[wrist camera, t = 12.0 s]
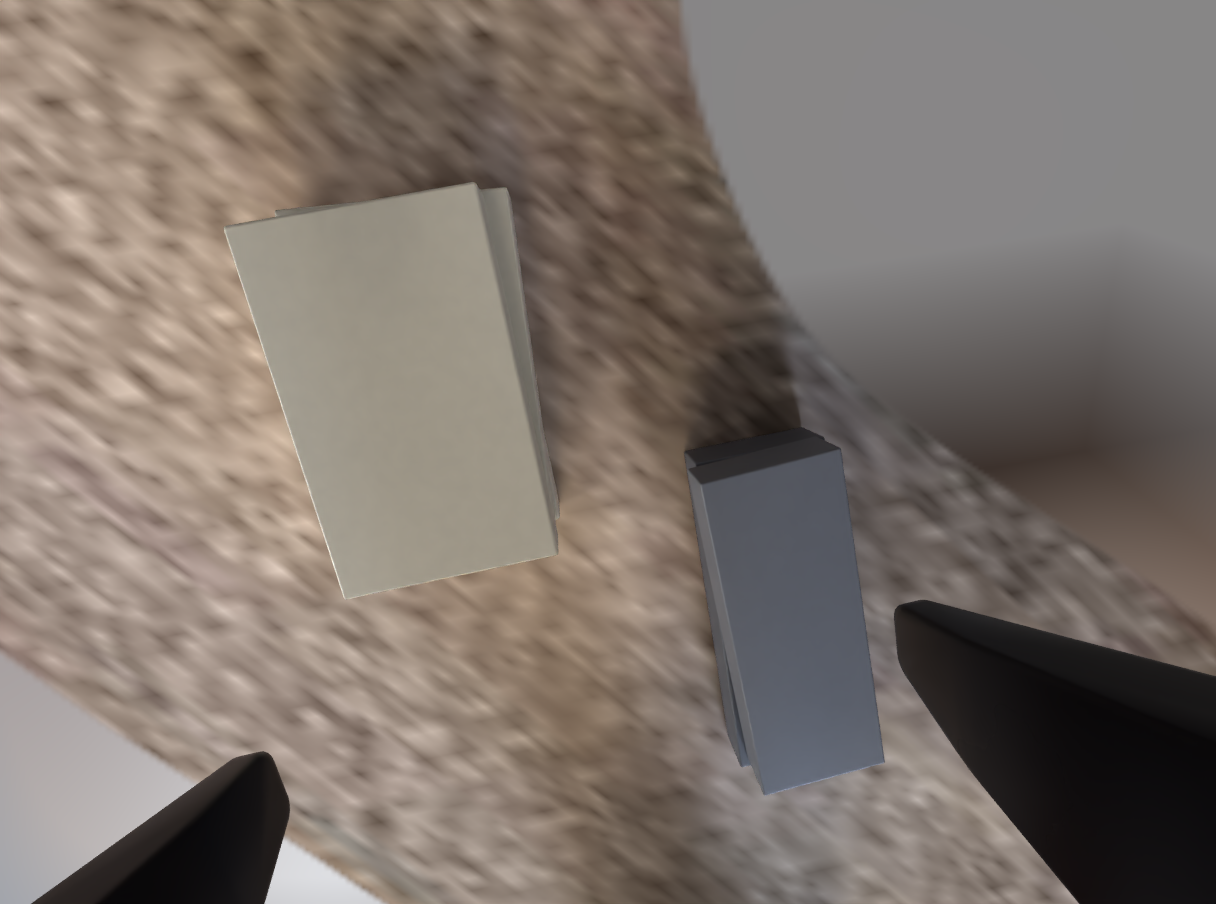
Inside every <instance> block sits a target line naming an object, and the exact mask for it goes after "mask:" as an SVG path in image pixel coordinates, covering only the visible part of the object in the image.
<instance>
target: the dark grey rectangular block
mask: <svg viewBox="0 0 1216 904" xmlns="http://www.w3.org/2000/svg"><path fill="white" fill-rule="evenodd" d="M684 455H685V461H686V468H687V474H688V481H689V487H690V494H691V500H692V507H693V513H694V520H695V526H696V532H697V539H698V545H699V552H700V558H701V565H702V571H703V578H704V584H705V591H706V597H707V604H708V610H709V617H710V623H711V629H712V636H713V642H714V649H715V655H716V662H717V668H718V675H719V681H720V688H721V694H722V701H723V707H724V713H725V720H726V726H727V733H728V737H729V739H730V742H731V744H732V747H733V749H734V751H735V754H736V756H737V759H738V761H739V763H740V766H741V767H745V766H749V765H751V767H752V769H753V771H754V773H755V776H756V778H757V780H758V783H759V785H760V787H761V789H762V792H763V794H764V795H769V794H773V793H777V792H780V791H784V790H787V789H791V788H795V787H798V786H802V785H806V784H809V783H813V782H816V781H820V780H824V779H827V778H831V777H835V776H838V775H842V774H845V773H849V772H853V771H856V770H860V769H864V768H867V767H871V766H874V765H878V764H882V763H884V762H885V761H884V754H883V746H882V739H881V732H880V725H879V718H878V711H877V704H876V697H875V690H874V682H873V675H872V668H871V661H870V654H869V647H868V640H867V633H866V625H865V618H864V611H863V604H862V597H861V590H860V583H859V576H858V568H857V561H856V554H855V547H854V540H853V533H852V526H851V519H850V511H849V504H848V497H847V490H846V483H845V476H844V469H843V462H842V455H841V449H840V448H839V447H837V446H835V445H833V444H831V443H829V442H827V441H825V439H824V437H822V436H820V435H818V434H816V433H814V432H811V431H809V430H807V429H805V428H797V429H792V430H787V431H782V432H777V433H772V434H767V435H762V436H757V437H752V438H747V439H742V440H737V441H732V442H727V443H722V444H717V445H712V446H708V447H703V448H698V449H693V450H688V451H685V452H684Z"/></svg>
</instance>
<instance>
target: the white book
mask: <svg viewBox="0 0 1216 904" xmlns="http://www.w3.org/2000/svg"><path fill="white" fill-rule="evenodd" d="M224 232H225V235H226V238H227V241H228V244H229V247H230V250H231V253H232V256H233V259H234V262H235V265H236V268H237V271H238V275H239V278H240V281H241V284H242V287H243V290H244V293H245V296H246V299H247V302H248V305H249V308H250V311H251V314H252V317H253V321H254V324H255V327H256V330H257V333H258V336H259V339H260V342H261V345H262V348H263V351H264V354H265V357H266V360H267V363H268V367H269V370H270V373H271V376H272V379H273V382H274V385H275V388H276V391H277V394H278V397H279V400H280V403H281V406H282V409H283V413H284V416H285V419H286V422H287V425H288V428H289V431H290V434H291V437H292V440H293V443H294V446H295V449H296V452H297V455H298V459H299V462H300V465H301V468H302V471H303V474H304V477H305V480H306V483H307V486H308V489H309V492H310V495H311V498H312V501H313V505H314V508H315V511H316V514H317V517H318V520H319V523H320V526H321V529H322V532H323V535H324V538H325V541H326V544H327V548H328V551H329V554H330V557H331V560H332V563H333V566H334V569H335V572H336V575H337V578H338V581H339V584H340V587H341V590H342V594H343V597H344V598H345V599H350V598H355V597H360V596H364V595H369V594H374V593H379V592H384V591H388V590H393V589H398V588H403V587H407V586H412V585H417V584H422V583H427V582H431V581H436V580H441V579H446V578H450V577H455V576H460V575H465V574H470V573H474V572H479V571H484V570H489V569H493V568H498V567H503V566H508V565H512V564H517V563H522V562H527V561H532V560H536V559H541V558H546V557H551V556H555V555H557V554H558V533H557V528H556V524H555V519H554V515H553V510H552V506H551V501H550V497H549V492H548V487H547V483H546V478H545V474H544V469H543V465H542V460H541V456H540V451H539V446H538V442H537V437H536V433H535V428H534V424H533V419H532V415H531V410H530V405H529V401H528V396H527V392H526V387H525V383H524V378H523V374H522V369H521V365H520V360H519V355H518V351H517V346H516V342H515V337H514V333H513V328H512V324H511V319H510V314H509V310H508V305H507V301H506V296H505V292H504V287H503V283H502V278H501V273H500V269H499V264H498V260H497V255H496V251H495V246H494V242H493V237H492V232H491V228H490V223H489V219H488V214H487V210H486V205H485V201H484V196H483V194H482V193H481V191H480V189H479V187H478V186H477V184H476V183H475V182H469V183H464V184H458V185H452V186H447V187H441V188H436V189H430V190H424V191H419V192H413V193H408V194H402V195H396V196H391V197H385V198H380V199H374V200H368V201H363V202H357V203H352V204H346V205H340V206H335V207H329V208H323V209H318V210H312V211H307V212H301V213H295V214H290V215H284V216H279V217H273V218H267V219H262V220H256V221H251V222H245V223H239V224H234V225H228V226H225V227H224Z"/></svg>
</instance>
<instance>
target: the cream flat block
mask: <svg viewBox="0 0 1216 904" xmlns="http://www.w3.org/2000/svg"><path fill="white" fill-rule="evenodd" d="M480 191H481V193H482V194H483V196H484V201H485V205H486V210H487V214H488V219H489V223H490V228H491V232H492V237H493V242H494V246H495V251H496V255H497V260H498V264H499V269H500V273H501V278H502V283H503V287H504V292H505V296H506V301H507V305H508V310H509V314H510V319H511V324H512V328H513V333H514V337H515V342H516V346H517V351H518V355H519V360H520V365H521V369H522V374H523V378H524V383H525V387H526V392H527V396H528V401H529V405H530V410H531V415H532V419H533V424H534V428H535V433H536V437H537V442H538V446H539V451H540V456H541V460H542V465H543V469H544V474H545V478H546V483H547V487H548V492H549V497H550V501H551V506H552V510H553V515H554V519H555V524H556V519H559V517H560V508H559V499H558V495H557V490H556V485H555V481H554V476H553V471H552V467H551V462H550V457H549V453H548V448H547V443H546V439H545V434H544V429H543V423H542V416H541V409H540V402H539V395H538V388H537V381H536V374H535V366H534V359H533V352H532V345H531V338H530V331H529V324H528V317H527V309H526V302H525V295H524V288H523V281H522V274H521V267H520V260H519V253H518V245H517V238H516V231H515V224H514V217H513V210H512V203H511V198H510V195H509V192H508V190H507V188H505V187H501V188H491V189H481V190H480ZM362 202H363V201H362ZM352 203H357V202H352ZM352 203H342V204H332V205H322V206H312V207H302V208H292V209H282V210H276V211H275V216H276V217H279V216H284V215H290V214H295V213H301V212H307V211H312V210H318V209H323V208H329V207H335V206H340V205H346V204H352Z"/></svg>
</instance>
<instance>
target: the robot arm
mask: <svg viewBox="0 0 1216 904" xmlns="http://www.w3.org/2000/svg"><path fill="white" fill-rule="evenodd" d="M894 621H895V632H896V644H897V654H898V660H899V663H900V666H901V668H902V670H903V672H904V674H905V676H906V677H907V679H908V680H909V682H910V683H911V684H912V686H913V687H914V689H915V690H916V692H917V693H918V695H919V696H920V698H921V699H922V701H923V702H924V704H925V705H926V707H927V708H928V710H929V711H930V713H931V714H932V716H933V717H934V719H935V720H936V722H937V723H938V725H939V726H940V728H941V729H942V731H943V732H944V734H945V735H946V737H947V738H948V740H949V741H950V742H951V744H952V745H953V747H954V748H955V750H956V751H957V753H958V754H959V756H960V757H961V758H962V760H963V761H964V763H965V764H966V765H967V767H968V768H969V770H970V771H971V772H972V773H973V775H974V776H975V777H976V778H977V780H978V781H979V782H980V784H981V785H982V786H983V787H984V788H985V790H986V791H987V792H988V793H989V795H990V796H991V797H992V798H993V799H994V801H995V802H996V803H997V804H998V806H999V807H1000V808H1001V809H1002V810H1003V812H1004V813H1005V814H1006V815H1007V816H1008V818H1009V819H1010V820H1011V821H1012V823H1013V824H1014V825H1015V826H1016V827H1017V829H1018V830H1019V831H1020V832H1021V833H1022V835H1023V836H1024V837H1025V838H1026V840H1027V841H1028V842H1029V843H1030V844H1031V846H1032V847H1033V848H1034V849H1035V850H1036V852H1037V853H1038V854H1039V855H1040V857H1041V858H1042V859H1043V860H1044V861H1045V863H1046V864H1047V865H1048V866H1049V868H1050V869H1051V870H1052V871H1053V872H1054V874H1055V875H1056V876H1057V877H1058V878H1059V880H1060V881H1061V882H1062V883H1063V885H1064V886H1065V887H1066V888H1067V889H1068V891H1069V892H1070V893H1071V894H1072V895H1073V897H1074V898H1075V899H1076V900H1077V902H1078V903H1079V904H1216V676H1212V675H1208V674H1205V673H1201V672H1197V671H1193V670H1190V669H1186V668H1182V667H1178V666H1174V665H1171V664H1167V663H1163V662H1159V661H1155V660H1152V659H1148V658H1144V657H1140V656H1136V655H1133V654H1129V653H1125V652H1121V651H1117V650H1114V649H1110V648H1106V647H1102V646H1099V645H1095V644H1091V643H1087V642H1083V641H1080V640H1076V639H1072V638H1068V637H1064V636H1061V635H1057V634H1053V633H1049V632H1046V631H1042V630H1038V629H1034V628H1030V627H1027V626H1023V625H1019V624H1015V623H1011V622H1008V621H1004V620H1000V619H996V618H993V617H989V616H985V615H981V614H977V613H974V612H970V611H966V610H962V609H958V608H955V607H951V606H947V605H943V604H940V603H936V602H932V601H928V600H918V601H914V602H910V603H905V604H901V605H899V606H898V607H897V608H896V609H895V613H894ZM289 813H290V804H289V798H288V795H287V793H286V790H285V787H284V785H283V782H282V780H281V777H280V775H279V772H278V770H277V767H276V765H275V762H274V760H273V758H272V756H271V755H270V754H269V753H267V752H264V751H263V752H257V753H252V754H248V755H244V756H239V757H236V758H234V759H232V760H230V761H229V762H228V763H226V764H225V765H223V766H222V767H221V768H219V769H218V770H216V771H215V772H214V773H212V774H211V775H210V776H208V777H207V778H205V779H204V780H203V781H201V782H200V783H198V784H197V785H196V786H194V787H193V788H191V789H190V790H189V791H187V792H186V793H184V794H183V795H182V796H180V797H179V798H178V799H176V800H175V801H173V802H172V803H171V804H169V805H168V806H166V807H165V808H164V809H162V810H161V811H159V812H158V813H157V814H155V815H154V816H152V817H151V818H150V819H148V820H147V821H146V822H144V823H143V824H141V825H140V826H139V827H137V828H136V829H134V830H133V831H132V832H130V833H129V834H127V835H126V836H125V837H123V838H122V839H120V840H119V841H118V842H116V843H115V844H114V845H112V846H111V847H109V848H108V849H107V850H105V851H104V852H102V853H101V854H100V855H98V856H97V857H95V858H94V859H93V860H91V861H90V862H89V863H87V864H86V865H84V866H83V867H82V868H80V869H79V870H77V871H76V872H75V873H73V874H72V875H70V876H69V877H68V878H66V879H65V880H63V881H62V882H61V883H59V884H58V885H56V886H55V887H54V888H52V889H51V890H50V891H48V892H47V893H46V894H44V895H43V896H41V897H40V898H38V899H37V900H36V901H34V902H33V903H32V904H264V903H265V900H266V896H267V893H268V889H269V886H270V882H271V879H272V875H273V872H274V869H275V865H276V862H277V858H278V854H279V851H280V848H281V844H282V841H283V837H284V834H285V830H286V827H287V823H288V819H289Z"/></svg>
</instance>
